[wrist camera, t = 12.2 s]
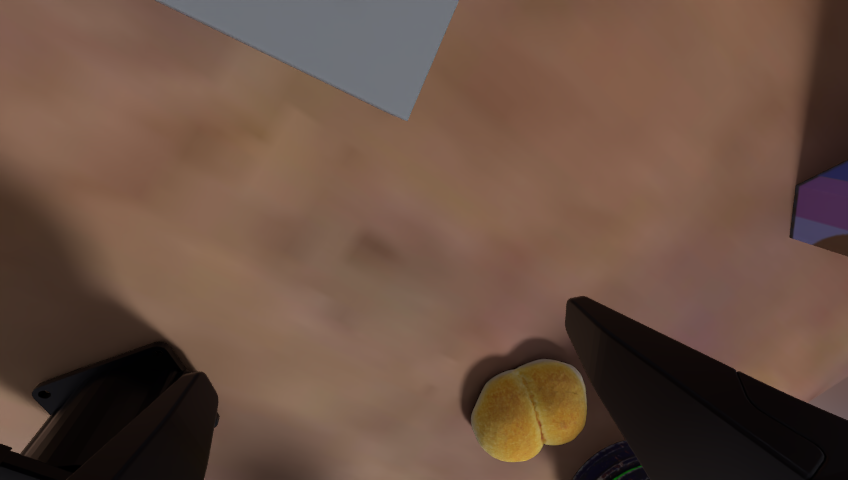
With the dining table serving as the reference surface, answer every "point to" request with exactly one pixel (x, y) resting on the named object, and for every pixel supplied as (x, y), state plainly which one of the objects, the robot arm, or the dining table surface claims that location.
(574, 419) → the bread roll
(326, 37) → the jig
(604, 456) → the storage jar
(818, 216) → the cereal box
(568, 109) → the dining table surface
